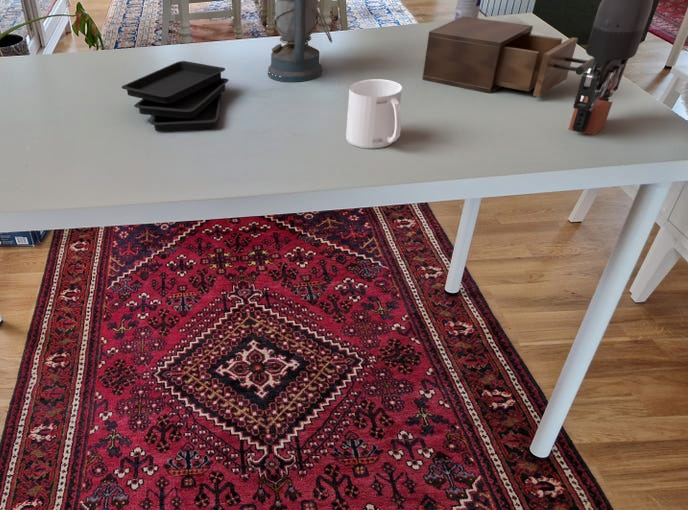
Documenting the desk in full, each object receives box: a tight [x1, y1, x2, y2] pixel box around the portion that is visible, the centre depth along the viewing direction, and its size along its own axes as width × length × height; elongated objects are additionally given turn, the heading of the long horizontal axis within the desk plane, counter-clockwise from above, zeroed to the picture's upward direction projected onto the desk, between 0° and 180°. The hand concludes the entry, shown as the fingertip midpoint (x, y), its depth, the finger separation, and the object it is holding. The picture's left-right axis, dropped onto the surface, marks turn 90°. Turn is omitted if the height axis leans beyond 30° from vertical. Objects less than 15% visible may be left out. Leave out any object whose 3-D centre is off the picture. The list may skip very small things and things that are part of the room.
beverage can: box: [453, 0, 482, 21], centre depth 160 cm, size 6×6×15 cm
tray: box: [121, 60, 230, 132], centre depth 137 cm, size 30×23×5 cm
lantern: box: [267, 0, 333, 83], centre depth 141 cm, size 19×14×30 cm
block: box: [568, 97, 613, 136], centre depth 115 cm, size 4×4×4 cm
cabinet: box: [422, 16, 534, 94], centre depth 137 cm, size 16×14×10 cm
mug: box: [345, 78, 403, 150], centre depth 115 cm, size 12×9×9 cm
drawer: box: [494, 33, 595, 98], centre depth 130 cm, size 20×13×8 cm, turn 44°
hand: (587, 124), depth 116 cm, fingers open, 6 cm apart
